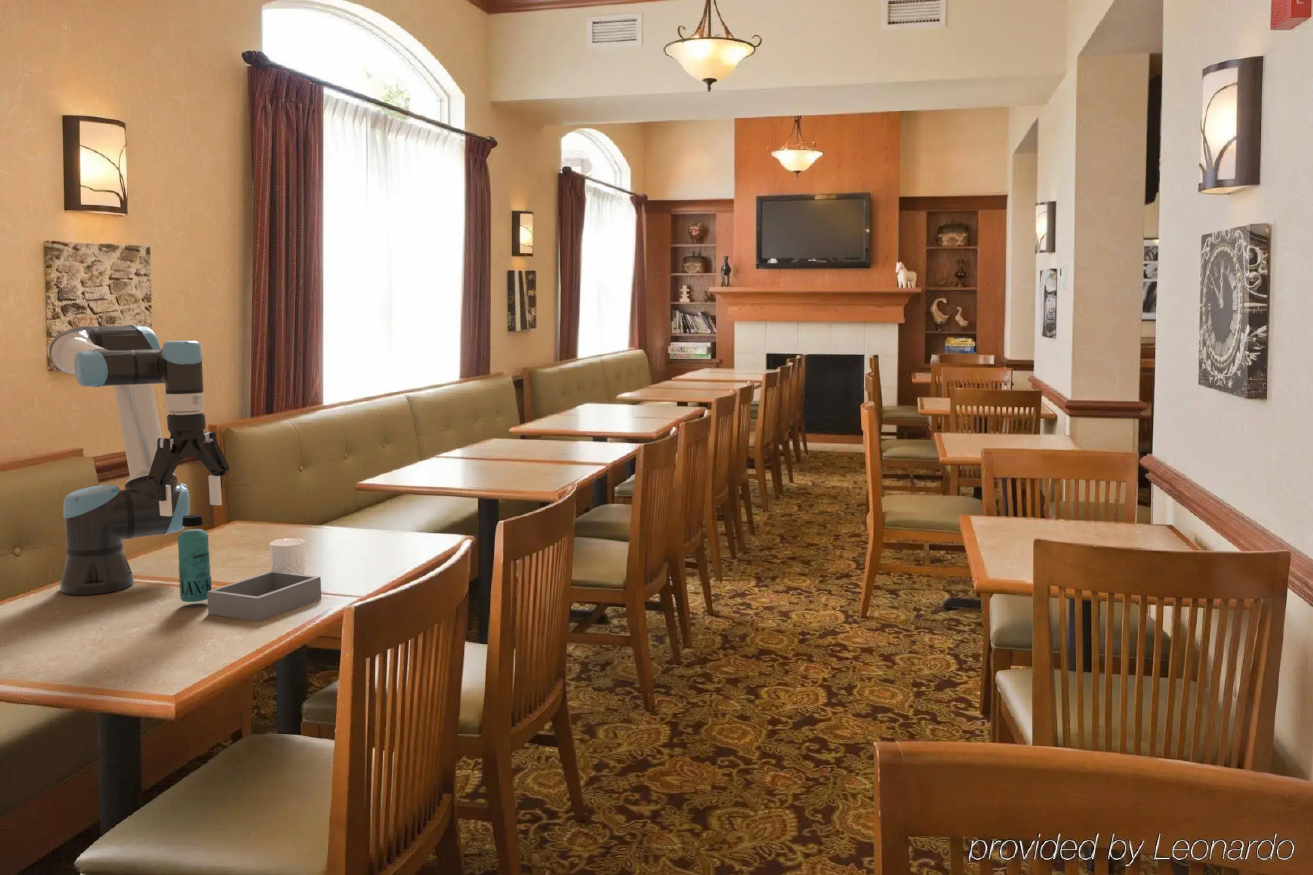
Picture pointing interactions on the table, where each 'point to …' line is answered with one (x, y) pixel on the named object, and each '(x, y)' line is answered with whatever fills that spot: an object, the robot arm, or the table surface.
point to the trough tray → (264, 595)
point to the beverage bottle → (194, 561)
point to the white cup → (288, 555)
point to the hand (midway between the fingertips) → (191, 510)
